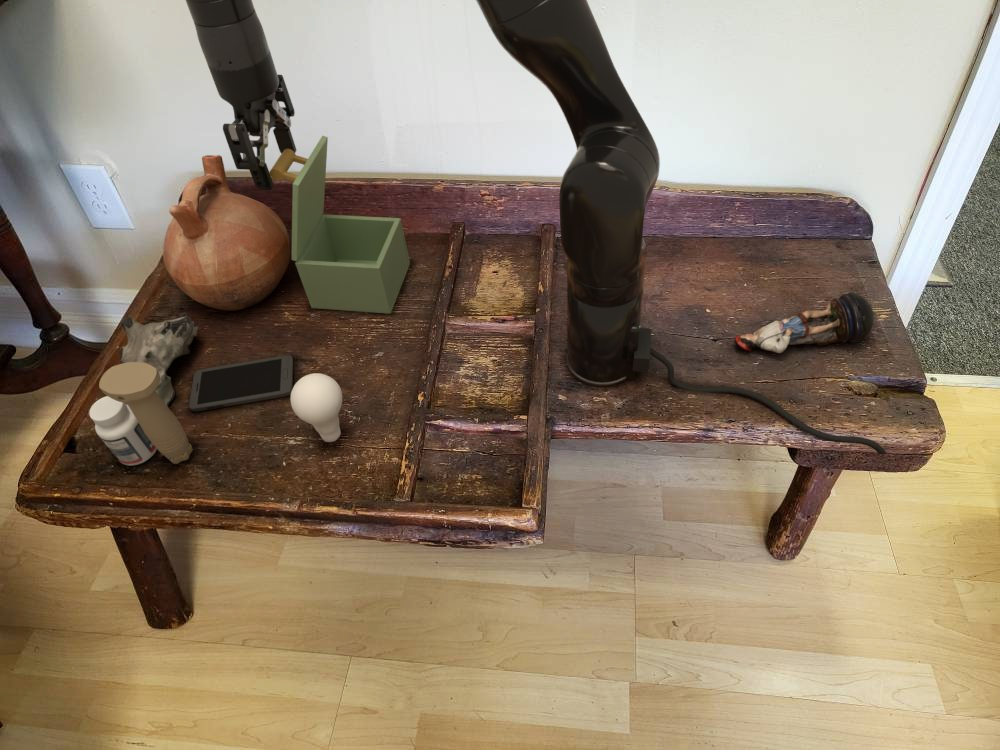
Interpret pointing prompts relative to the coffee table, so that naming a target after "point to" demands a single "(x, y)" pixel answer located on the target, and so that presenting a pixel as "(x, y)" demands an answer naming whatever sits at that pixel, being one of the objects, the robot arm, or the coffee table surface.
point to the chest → (354, 263)
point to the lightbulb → (318, 404)
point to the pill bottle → (121, 431)
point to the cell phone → (242, 383)
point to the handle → (147, 407)
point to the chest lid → (304, 191)
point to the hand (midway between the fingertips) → (277, 170)
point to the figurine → (815, 326)
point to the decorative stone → (158, 346)
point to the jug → (224, 243)
